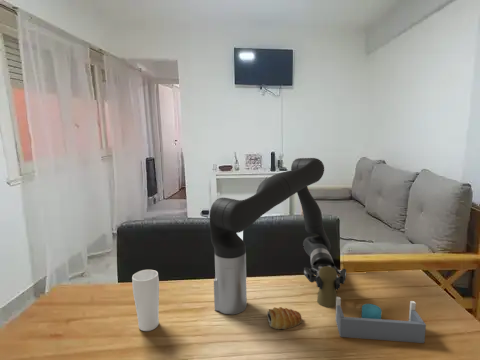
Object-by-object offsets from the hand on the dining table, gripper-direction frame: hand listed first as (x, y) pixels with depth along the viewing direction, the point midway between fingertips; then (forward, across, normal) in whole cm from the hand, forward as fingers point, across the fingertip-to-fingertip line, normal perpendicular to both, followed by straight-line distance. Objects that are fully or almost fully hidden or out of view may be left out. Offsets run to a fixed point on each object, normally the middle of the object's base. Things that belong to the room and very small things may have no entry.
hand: (329, 286), depth 89 cm
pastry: (+9, -14, +7) cm, 18 cm away
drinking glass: (+15, -50, +7) cm, 53 cm away
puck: (+4, +11, +7) cm, 13 cm away
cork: (-3, 0, +7) cm, 7 cm away
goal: (+9, +11, +6) cm, 16 cm away
